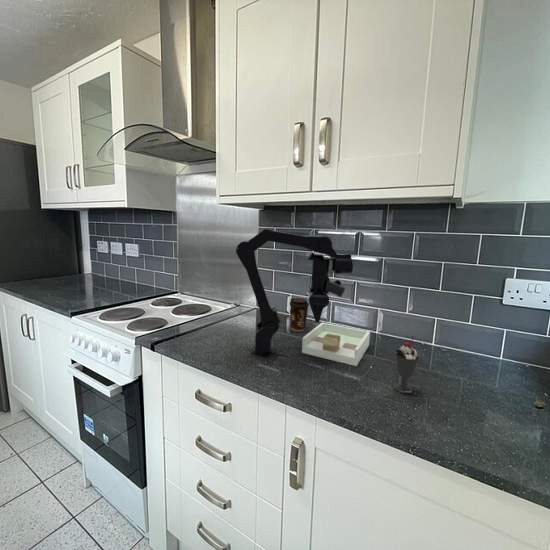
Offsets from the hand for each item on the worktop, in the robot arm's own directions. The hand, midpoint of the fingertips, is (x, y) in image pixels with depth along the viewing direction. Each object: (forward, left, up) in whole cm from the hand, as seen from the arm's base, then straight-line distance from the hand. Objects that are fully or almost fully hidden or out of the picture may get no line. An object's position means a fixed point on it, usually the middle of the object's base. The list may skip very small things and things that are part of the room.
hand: (317, 317), depth 102 cm
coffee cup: (+19, +15, -13) cm, 28 cm away
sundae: (-10, -30, -13) cm, 34 cm away
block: (0, -6, -10) cm, 12 cm away
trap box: (+7, -6, -13) cm, 16 cm away
